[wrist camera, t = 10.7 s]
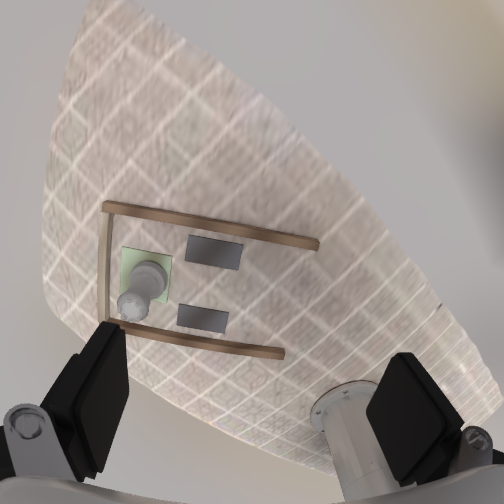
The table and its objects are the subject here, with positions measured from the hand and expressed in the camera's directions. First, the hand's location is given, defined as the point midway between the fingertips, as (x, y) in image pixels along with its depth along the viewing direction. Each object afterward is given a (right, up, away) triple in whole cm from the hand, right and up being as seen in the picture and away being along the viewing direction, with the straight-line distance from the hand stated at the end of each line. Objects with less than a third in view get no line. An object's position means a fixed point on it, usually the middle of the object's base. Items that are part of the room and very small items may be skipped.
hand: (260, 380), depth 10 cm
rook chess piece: (-12, +1, +25) cm, 28 cm away
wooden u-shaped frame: (-6, 0, +26) cm, 26 cm away
